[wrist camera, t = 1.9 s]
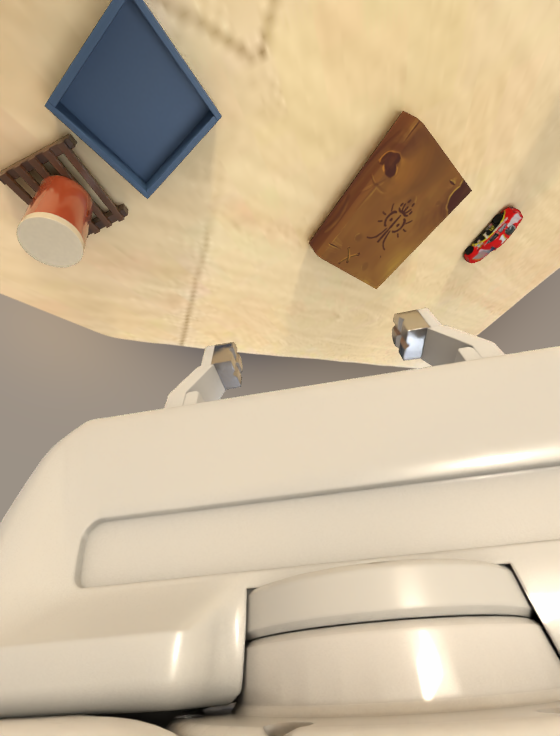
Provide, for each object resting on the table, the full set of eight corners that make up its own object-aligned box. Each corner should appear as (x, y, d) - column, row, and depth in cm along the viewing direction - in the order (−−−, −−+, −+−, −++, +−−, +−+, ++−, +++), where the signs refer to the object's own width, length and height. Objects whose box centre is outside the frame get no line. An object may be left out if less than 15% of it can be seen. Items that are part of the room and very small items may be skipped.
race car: (469, 261, 74) (480, 270, 72) (457, 256, 71) (468, 265, 69) (518, 210, 65) (532, 219, 63) (507, 202, 63) (520, 211, 60)
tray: (147, 188, 42) (147, 199, 40) (50, 98, 33) (44, 105, 31) (217, 109, 38) (222, 116, 35) (128, -22, 28) (127, -23, 26)
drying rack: (69, 239, 45) (67, 247, 43) (0, 171, 36) (-6, 179, 35) (128, 209, 44) (127, 217, 42) (70, 133, 36) (67, 139, 34)
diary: (399, 109, 43) (420, 119, 40) (452, 178, 54) (472, 190, 51) (307, 240, 56) (317, 256, 53) (365, 274, 67) (376, 289, 64)
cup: (68, 229, 41) (53, 275, 35) (27, 187, 36) (1, 231, 30) (103, 211, 41) (95, 254, 34) (66, 166, 36) (48, 207, 29)
